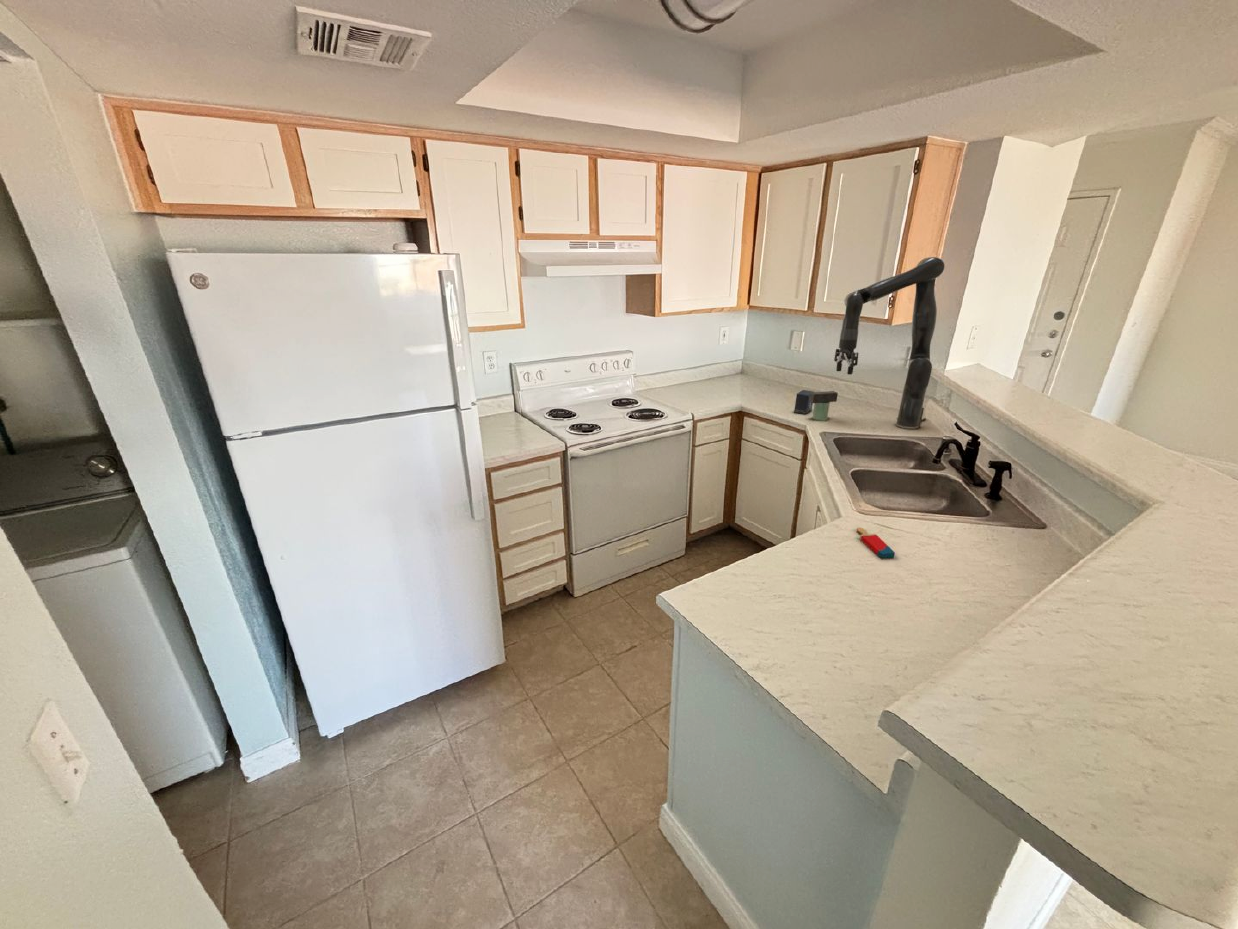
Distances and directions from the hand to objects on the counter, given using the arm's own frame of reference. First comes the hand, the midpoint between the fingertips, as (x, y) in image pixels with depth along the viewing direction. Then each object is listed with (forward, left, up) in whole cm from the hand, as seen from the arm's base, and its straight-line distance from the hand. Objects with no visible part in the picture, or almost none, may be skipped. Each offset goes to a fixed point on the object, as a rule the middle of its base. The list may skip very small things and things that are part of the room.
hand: (844, 372), depth 239 cm
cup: (+5, -7, -25) cm, 26 cm away
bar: (+5, -7, -16) cm, 18 cm away
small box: (+6, -21, -25) cm, 33 cm away
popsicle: (+60, +105, -25) cm, 124 cm away
